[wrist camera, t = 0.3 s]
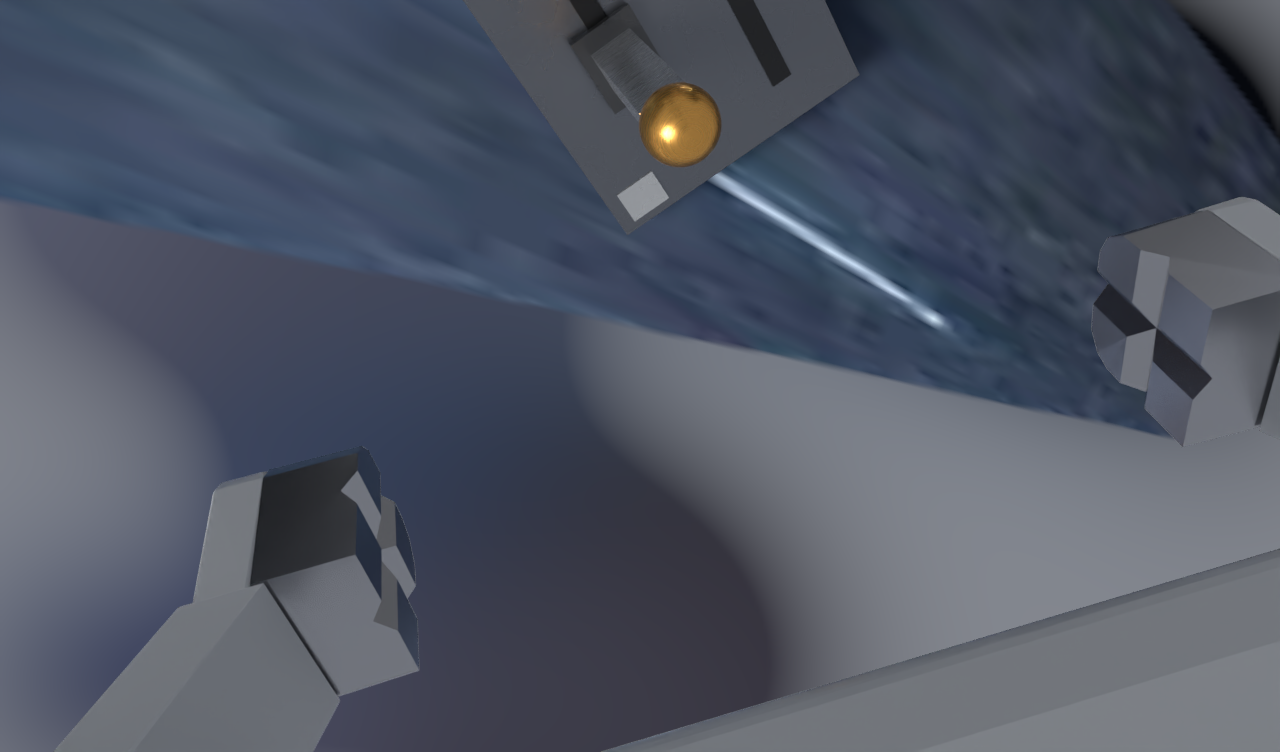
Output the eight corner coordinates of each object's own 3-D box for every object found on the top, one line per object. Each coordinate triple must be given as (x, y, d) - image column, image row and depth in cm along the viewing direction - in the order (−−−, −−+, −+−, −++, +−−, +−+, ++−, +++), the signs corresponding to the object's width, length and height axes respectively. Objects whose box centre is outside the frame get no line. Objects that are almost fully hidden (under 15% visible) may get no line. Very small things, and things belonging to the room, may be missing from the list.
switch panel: (431, -49, 51) (467, 27, 38) (694, -242, 50) (827, -235, 36) (615, 215, 61) (694, 347, 48) (837, 61, 60) (983, 154, 47)
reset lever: (568, 43, 52) (630, 121, 41) (626, 2, 52) (703, 70, 41) (613, 111, 55) (682, 202, 44) (668, 72, 54) (751, 154, 44)
